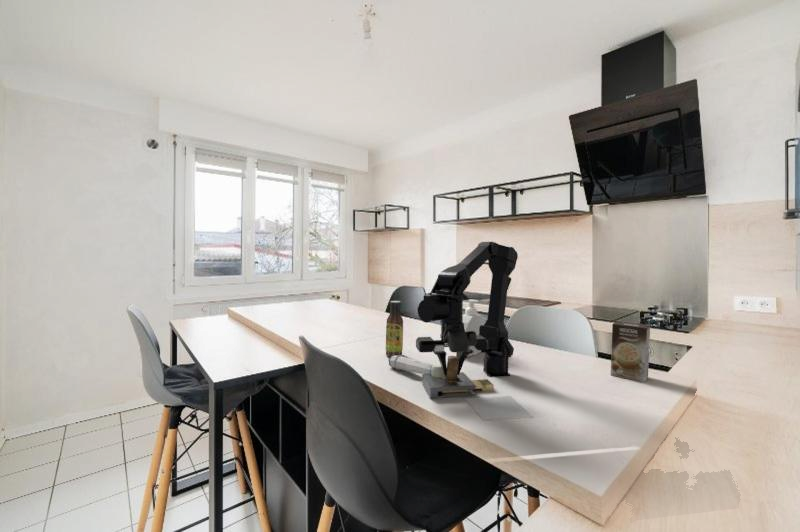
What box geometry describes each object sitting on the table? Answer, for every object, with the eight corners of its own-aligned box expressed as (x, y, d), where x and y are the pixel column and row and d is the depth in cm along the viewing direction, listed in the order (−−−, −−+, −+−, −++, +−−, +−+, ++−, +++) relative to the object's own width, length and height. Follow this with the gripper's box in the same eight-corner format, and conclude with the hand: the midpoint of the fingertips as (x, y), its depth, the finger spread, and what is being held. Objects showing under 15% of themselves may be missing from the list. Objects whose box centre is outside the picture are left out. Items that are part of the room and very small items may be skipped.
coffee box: (609, 375, 110) (610, 323, 109) (614, 370, 114) (615, 320, 114) (645, 382, 104) (646, 327, 103) (649, 377, 108) (650, 324, 108)
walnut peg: (454, 377, 98) (456, 355, 98) (458, 381, 96) (460, 359, 95) (444, 376, 98) (446, 355, 97) (447, 381, 95) (450, 359, 94)
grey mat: (510, 397, 93) (510, 395, 93) (533, 419, 81) (533, 416, 81) (465, 400, 91) (465, 398, 91) (483, 422, 79) (483, 420, 79)
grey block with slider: (483, 382, 103) (483, 371, 103) (497, 396, 94) (497, 383, 93) (422, 386, 101) (422, 374, 101) (430, 400, 91) (430, 387, 91)
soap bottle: (466, 359, 126) (466, 303, 126) (453, 356, 130) (453, 301, 129) (488, 350, 138) (489, 298, 137) (476, 347, 142) (476, 297, 141)
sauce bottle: (383, 356, 129) (382, 301, 128) (389, 352, 135) (389, 299, 134) (399, 358, 127) (399, 302, 126) (405, 353, 133) (405, 300, 132)
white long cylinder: (399, 353, 120) (452, 361, 100) (400, 373, 119) (454, 386, 99) (386, 356, 116) (438, 365, 97) (387, 376, 116) (440, 390, 96)
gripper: (424, 324, 87) (423, 388, 88) (497, 322, 90) (496, 384, 90) (415, 316, 98) (415, 372, 99) (480, 314, 101) (480, 369, 101)
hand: (451, 374), depth 97 cm, fingers closed on walnut peg, 3 cm apart
